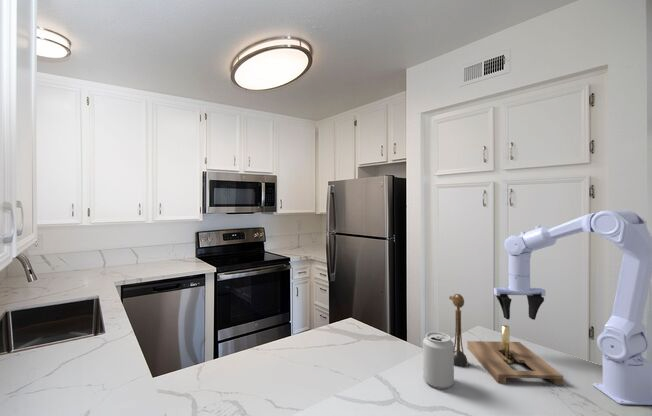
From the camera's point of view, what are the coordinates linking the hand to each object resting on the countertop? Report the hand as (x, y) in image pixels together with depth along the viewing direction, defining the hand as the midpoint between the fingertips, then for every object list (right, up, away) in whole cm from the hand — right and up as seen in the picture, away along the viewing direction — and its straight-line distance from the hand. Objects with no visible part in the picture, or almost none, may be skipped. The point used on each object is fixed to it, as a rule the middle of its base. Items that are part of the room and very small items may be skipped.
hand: (519, 318), depth 98 cm
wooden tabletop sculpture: (-22, -11, -6) cm, 25 cm away
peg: (-7, -11, -5) cm, 14 cm away
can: (-31, -11, -16) cm, 37 cm away
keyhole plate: (-7, -11, -8) cm, 15 cm away
